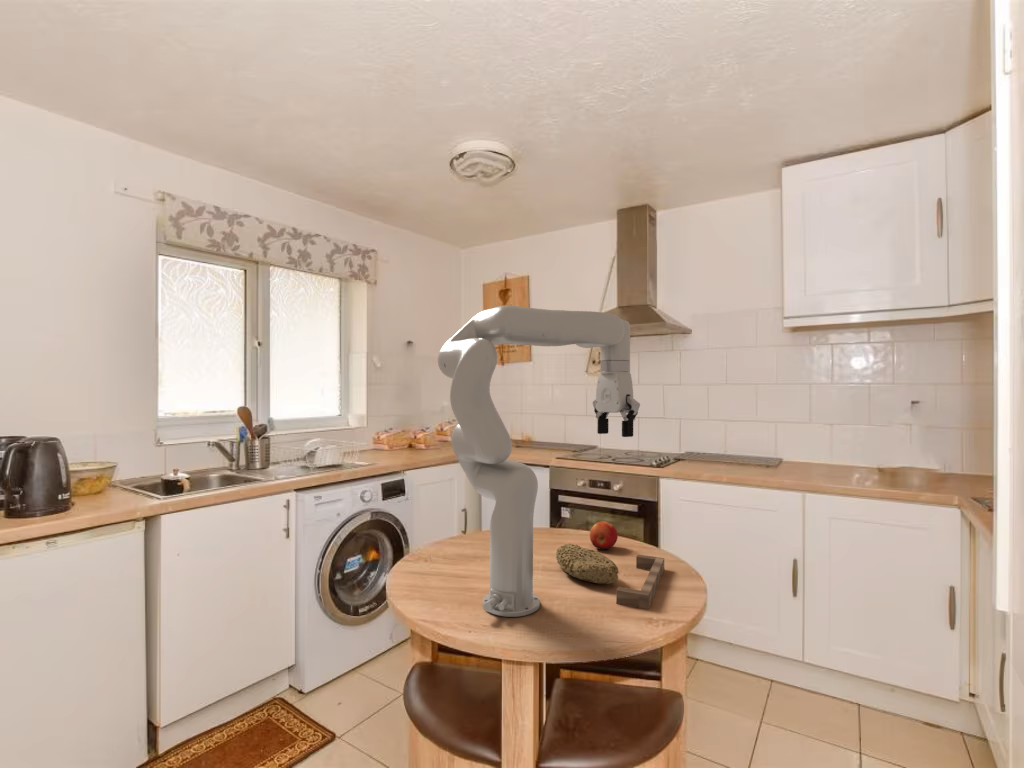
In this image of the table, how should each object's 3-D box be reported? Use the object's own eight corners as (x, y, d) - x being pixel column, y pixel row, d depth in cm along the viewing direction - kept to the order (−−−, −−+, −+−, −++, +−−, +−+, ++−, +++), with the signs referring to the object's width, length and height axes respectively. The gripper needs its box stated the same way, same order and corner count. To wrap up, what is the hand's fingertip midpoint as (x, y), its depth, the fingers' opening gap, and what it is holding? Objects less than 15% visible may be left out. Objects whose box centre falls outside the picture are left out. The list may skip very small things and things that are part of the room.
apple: (620, 547, 154) (620, 521, 154) (610, 555, 147) (610, 527, 147) (596, 543, 158) (596, 517, 158) (585, 550, 151) (585, 523, 151)
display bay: (648, 609, 110) (648, 595, 110) (616, 603, 113) (616, 590, 113) (664, 569, 135) (664, 558, 135) (637, 565, 138) (637, 554, 138)
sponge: (550, 569, 138) (568, 581, 119) (554, 540, 140) (573, 546, 121) (597, 577, 140) (622, 589, 120) (600, 547, 141) (626, 555, 122)
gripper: (583, 369, 136) (582, 433, 136) (626, 366, 121) (625, 438, 121) (605, 369, 140) (605, 432, 140) (650, 367, 125) (649, 437, 124)
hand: (614, 435), depth 130 cm, fingers open, 9 cm apart
